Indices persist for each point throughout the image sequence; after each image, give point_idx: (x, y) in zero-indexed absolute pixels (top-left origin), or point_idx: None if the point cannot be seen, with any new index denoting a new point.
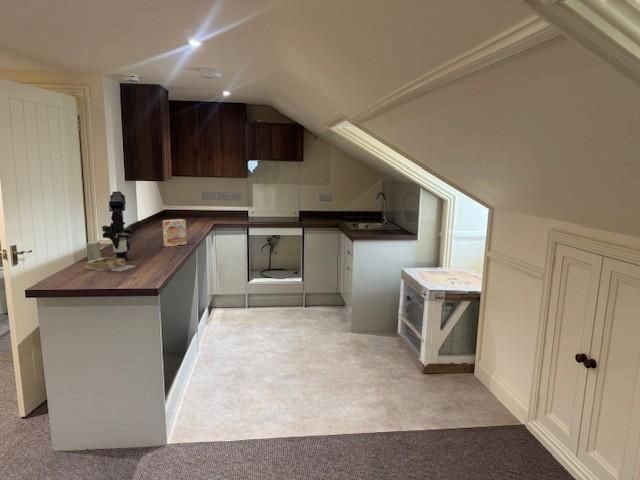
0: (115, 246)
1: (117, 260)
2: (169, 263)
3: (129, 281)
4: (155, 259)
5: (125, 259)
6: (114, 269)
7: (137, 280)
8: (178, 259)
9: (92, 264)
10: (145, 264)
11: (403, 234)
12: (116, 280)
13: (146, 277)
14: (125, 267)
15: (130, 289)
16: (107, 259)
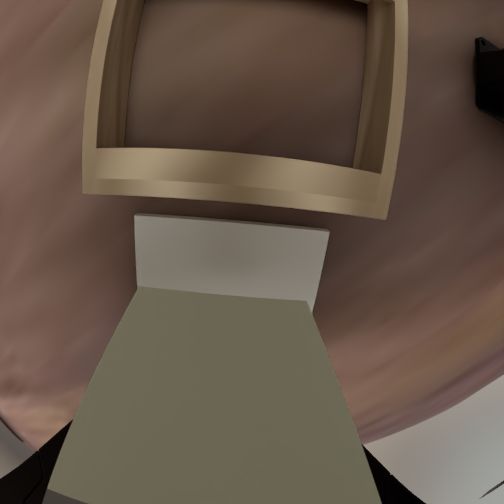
0: None
1: (285, 192)
2: (392, 414)
3: (40, 409)
4: (495, 300)
5: (495, 116)
6: (148, 234)
7: None
8: (464, 392)
9: (103, 25)
10: (383, 331)
11: (498, 486)
12: (16, 364)
13: None
14: (238, 281)
15: (7, 426)
16: (386, 11)
